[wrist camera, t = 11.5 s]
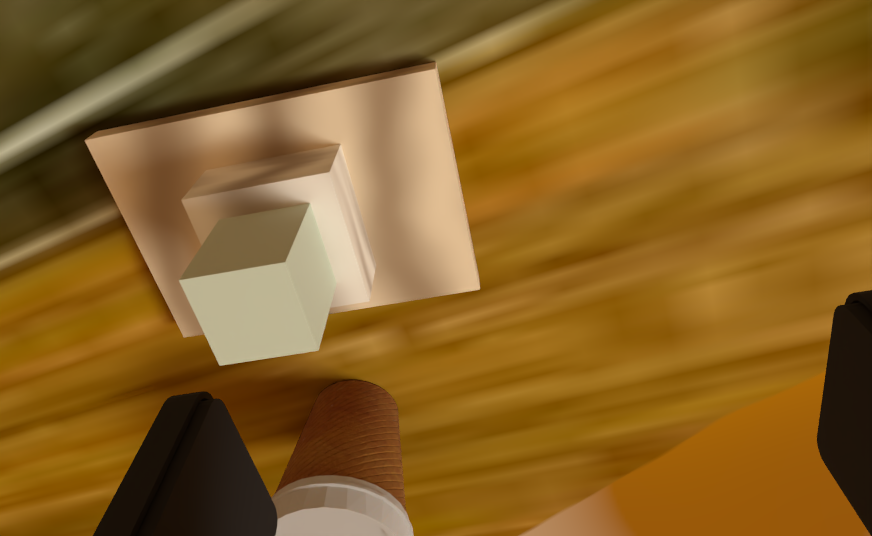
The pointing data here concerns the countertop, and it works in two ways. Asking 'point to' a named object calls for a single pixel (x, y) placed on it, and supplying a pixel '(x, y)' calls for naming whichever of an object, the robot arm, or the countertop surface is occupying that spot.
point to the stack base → (295, 122)
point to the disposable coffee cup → (346, 468)
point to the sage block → (262, 285)
